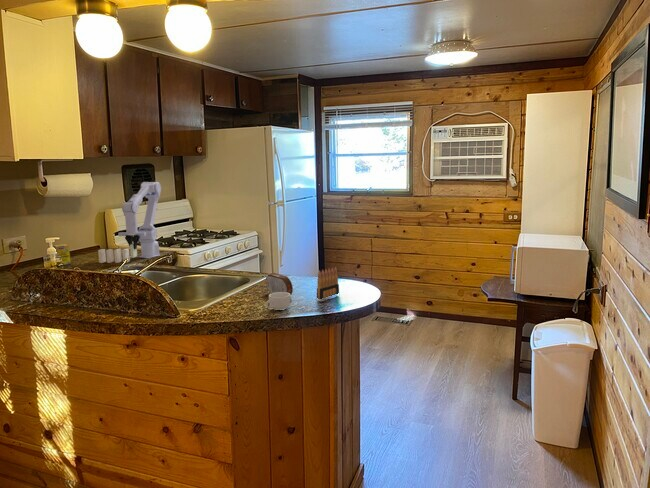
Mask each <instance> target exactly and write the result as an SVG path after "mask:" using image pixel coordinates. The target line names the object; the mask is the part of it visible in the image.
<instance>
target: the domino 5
mask: <svg viewBox="0 0 650 488" xmlns="http://www.w3.org/2000/svg"><path fill="white" fill-rule="evenodd" d="M129 255H130V259H131V258H136V257H138V249H134V246H133V244H131V245H130V247H129Z"/></svg>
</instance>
